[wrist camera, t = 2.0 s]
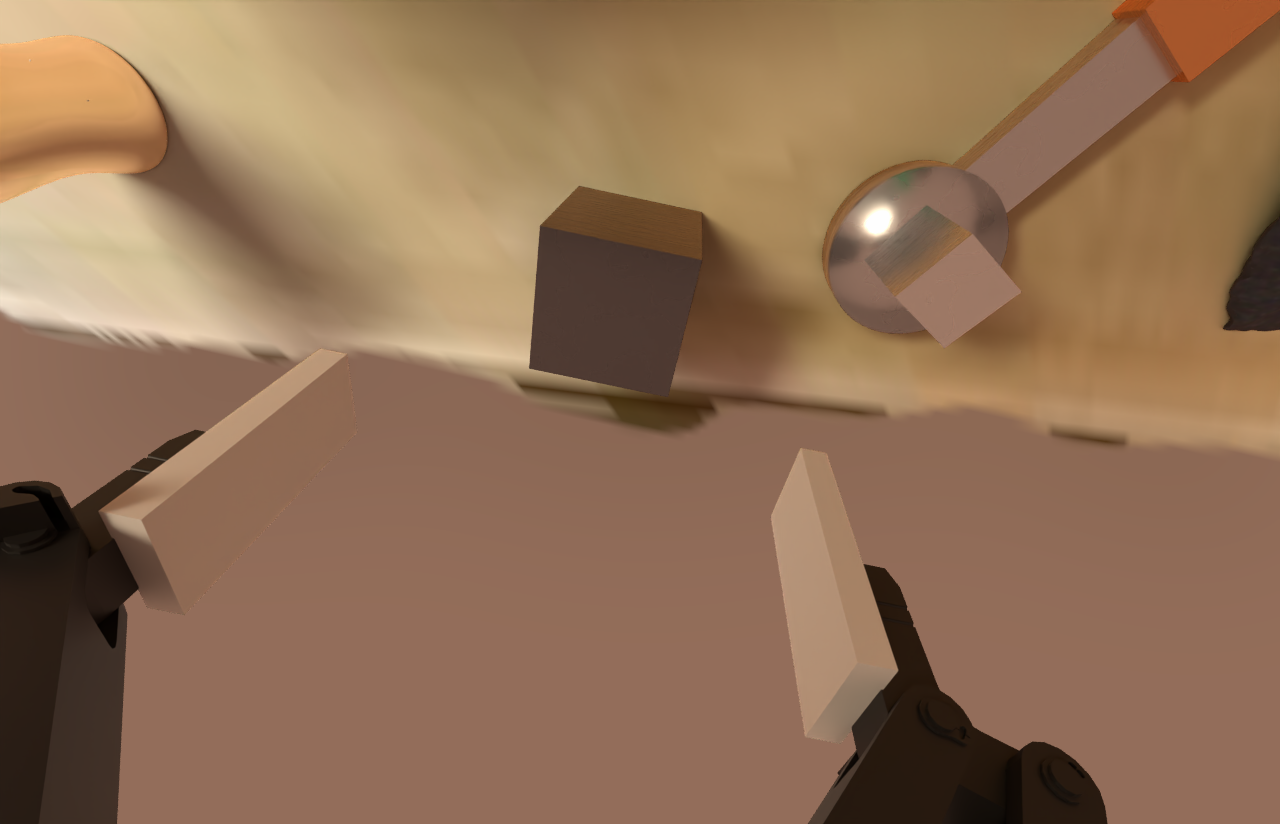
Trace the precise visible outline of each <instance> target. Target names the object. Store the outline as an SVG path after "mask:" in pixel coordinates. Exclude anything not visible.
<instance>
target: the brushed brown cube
mask: <svg viewBox="0 0 1280 824" xmlns="http://www.w3.org/2000/svg"><path fill="white" fill-rule="evenodd" d="M701 263H702V212H698V211H694V210H689V209H684V208H680V207H675V206H670V205H666V204H661V203H656V202H651V201H647V200H642V199H637V198H633V197H628V196H623V195H619V194H614V193H609V192H605V191H600V190H595V189H591V188H586V187H581V186H579V187H578V188H577V189H576V190H575V191H574V192H573V193H572V194H571V195H570V196H569V197H568V198H567V199H566V200H565V201H564V202H563V203H562V204H561V205H560V206H559V207H558V208H557V209H556V210H555V211H554V212H553V213H552V214H551V215H550V216H549V217H548V218H547V219H546V220H545V221H544V222H543V223H542V224H541V225H540V234H539V247H538V260H537V274H536V287H535V300H534V313H533V326H532V339H531V352H530V365H529V369H534V370H539V371H544V372H549V373H554V374H559V375H563V376H568V377H573V378H578V379H583V380H588V381H593V382H597V383H602V384H607V385H612V386H617V387H622V388H626V389H631V390H636V391H641V392H646V393H651V394H656V395H660V396H665V397H668V395H669V391H670V387H671V383H672V379H673V375H674V371H675V367H676V363H677V359H678V355H679V351H680V347H681V343H682V339H683V335H684V331H685V327H686V323H687V319H688V315H689V311H690V307H691V303H692V299H693V295H694V291H695V287H696V283H697V279H698V275H699V271H700V267H701Z"/></svg>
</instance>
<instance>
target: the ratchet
mask: <svg viewBox="0 0 1280 824" xmlns="http://www.w3.org/2000/svg"><path fill="white" fill-rule="evenodd" d="M1279 10H1280V0H1126V1H1125V2H1124V3H1123V4H1122V5H1120V6H1119V7H1118V8H1117V9H1116V10H1115V11H1114V12H1113V13H1112V15H1113V16H1114V18H1115V20H1114V21H1113V22H1112V23H1111V24H1110V25H1108V26H1107V27H1106V28H1105V29H1104V30H1103V31H1102V32H1101V33H1099V34H1098V35H1097V36H1096V37H1095V38H1094V39H1093V40H1092V41H1091V42H1089V43H1088V44H1087V45H1086V46H1085V47H1084V48H1083V49H1082V50H1080V51H1079V52H1078V53H1077V54H1076V55H1075V56H1074V57H1073V58H1072V59H1070V60H1069V61H1068V62H1067V63H1066V64H1065V65H1064V66H1063V67H1061V68H1060V69H1059V70H1058V71H1057V72H1056V73H1055V74H1054V75H1053V76H1051V77H1050V78H1049V79H1048V80H1047V81H1046V82H1045V83H1044V84H1042V85H1041V86H1040V87H1039V88H1038V89H1037V90H1036V91H1035V92H1034V93H1032V94H1031V95H1030V96H1029V97H1028V98H1027V99H1026V100H1025V101H1023V102H1022V103H1021V104H1020V105H1019V106H1018V107H1017V108H1016V109H1015V110H1013V111H1012V112H1011V113H1010V114H1009V115H1008V116H1007V117H1006V118H1004V119H1003V120H1002V121H1001V122H1000V123H999V124H998V125H997V126H996V127H994V128H993V129H992V130H991V131H990V132H989V133H988V134H987V135H985V136H984V137H983V138H982V139H981V140H980V141H979V142H978V143H977V144H975V145H974V146H973V147H972V148H971V149H970V150H969V151H968V152H966V153H965V154H964V155H963V156H962V157H961V158H960V159H959V160H958V161H956V162H955V163H954V164H953V165H950V164H946V163H943V162H938V161H931V160H918V161H911V162H905V163H901V164H897V165H894V166H892V167H889V168H887V169H884V170H882V171H880V172H878V173H877V174H875V175H873V176H871V177H870V178H868V179H867V180H866V181H864V182H863V183H861V184H860V185H859V186H858V187H857V188H856V189H854V190H853V191H852V192H851V193H850V195H849V196H848V197H847V198H846V199H845V200H844V201H843V203H842V204H841V205H840V207H839V208H838V209H837V211H836V213H835V215H834V216H833V218H832V220H831V222H830V224H829V227H828V229H827V232H826V235H825V239H824V244H823V250H822V263H823V270H824V274H825V278H826V280H827V283H828V285H829V287H830V289H831V291H832V292H833V294H834V296H835V298H836V299H837V301H838V303H839V304H840V306H841V307H842V309H843V310H844V311H845V312H846V313H847V314H848V315H849V316H850V317H851V318H852V319H854V320H855V321H856V322H858V323H860V324H861V325H863V326H865V327H868V328H870V329H873V330H876V331H880V332H886V333H912V332H917V331H922V330H927V331H928V332H929V333H930V334H931V335H932V336H933V337H934V338H935V339H936V340H937V341H938V342H939V343H940V344H941V345H942V346H943V347H944V348H945V347H947V346H948V345H950V344H951V343H952V342H954V341H955V340H956V339H958V338H959V337H961V336H962V335H963V334H965V333H966V332H967V331H969V330H970V329H972V328H973V327H974V326H976V325H977V324H978V323H980V322H981V321H983V320H984V319H985V318H987V317H988V316H989V315H991V314H992V313H994V312H995V311H996V310H998V309H999V308H1000V307H1002V306H1003V305H1005V304H1006V303H1007V302H1009V301H1010V300H1011V299H1013V298H1014V297H1016V296H1017V295H1018V294H1020V293H1021V292H1022V291H1021V290H1020V289H1019V288H1018V287H1017V286H1016V284H1015V283H1014V282H1013V281H1012V280H1011V279H1010V277H1009V276H1008V275H1007V274H1006V273H1005V271H1004V270H1003V269H1002V268H1001V267H1000V266H1001V264H1002V261H1003V258H1004V256H1005V253H1006V248H1007V243H1008V233H1009V228H1008V218H1007V214H1006V213H1008V212H1009V211H1010V210H1011V209H1013V208H1014V207H1015V206H1016V205H1018V204H1019V203H1020V202H1021V201H1022V200H1024V199H1025V198H1026V197H1027V196H1029V195H1030V194H1031V193H1032V192H1034V191H1035V190H1036V189H1037V188H1039V187H1040V186H1041V185H1042V184H1044V183H1045V182H1046V181H1047V180H1048V179H1050V178H1051V177H1052V176H1053V175H1055V174H1056V173H1057V172H1058V171H1060V170H1061V169H1062V168H1063V167H1065V166H1066V165H1067V164H1068V163H1070V162H1071V161H1072V160H1073V159H1074V158H1076V157H1077V156H1078V155H1079V154H1081V153H1082V152H1083V151H1084V150H1086V149H1087V148H1088V147H1089V146H1091V145H1092V144H1093V143H1094V142H1096V141H1097V140H1098V139H1099V138H1100V137H1102V136H1103V135H1104V134H1105V133H1107V132H1108V131H1109V130H1110V129H1112V128H1113V127H1114V126H1115V125H1117V124H1118V123H1119V122H1120V121H1121V120H1123V119H1124V118H1125V117H1126V116H1128V115H1129V114H1130V113H1131V112H1133V111H1134V110H1135V109H1136V108H1138V107H1139V106H1140V105H1141V104H1143V103H1144V102H1145V101H1146V100H1147V99H1149V98H1150V97H1151V96H1152V95H1154V94H1155V93H1156V92H1157V91H1159V90H1160V89H1161V88H1162V87H1164V86H1165V85H1166V84H1167V83H1169V82H1170V81H1173V82H1190V81H1191V80H1193V79H1194V78H1195V77H1196V76H1198V75H1199V74H1200V73H1201V72H1203V71H1204V70H1205V69H1206V68H1208V67H1209V66H1210V65H1211V64H1213V63H1214V62H1215V61H1217V60H1218V59H1219V58H1220V57H1222V56H1223V55H1224V54H1225V53H1227V52H1228V51H1229V50H1230V49H1232V48H1233V47H1234V46H1235V45H1237V44H1238V43H1239V42H1240V41H1242V40H1243V39H1244V38H1245V37H1247V36H1248V35H1249V34H1250V33H1252V32H1253V31H1254V30H1256V29H1257V28H1258V27H1259V26H1261V25H1262V24H1263V23H1264V22H1266V21H1267V20H1268V19H1269V18H1271V17H1272V16H1273V15H1274V14H1276V13H1277V12H1278V11H1279Z"/></svg>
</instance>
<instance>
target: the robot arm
mask: <svg viewBox="0 0 1280 824" xmlns="http://www.w3.org/2000/svg"><path fill="white" fill-rule="evenodd" d="M356 433H357V426H356V418H355V410H354V403H353V395H352V388H351V380H350V373H349V365H348V357H347V354H345V353H340V352H335V351H330V350H325V349H321V348H320V349H319V350H317V351H316V352H315V353H313V354H312V355H310V356H309V357H308V358H306V359H305V360H304V361H302V362H301V363H300V364H298V365H297V366H295V367H294V368H293V369H291V370H290V371H289V372H287V373H286V374H285V375H283V376H282V377H280V378H279V379H278V380H276V381H275V382H274V383H272V384H271V385H270V386H268V387H267V388H265V389H264V390H263V391H261V392H260V393H259V394H257V395H256V396H255V397H253V398H252V399H250V400H249V401H248V402H246V403H245V404H244V405H242V406H241V407H240V408H238V409H237V410H235V411H234V412H233V413H231V414H230V415H229V416H227V417H226V418H224V419H223V420H222V421H220V422H219V423H218V424H216V425H215V426H214V427H212V428H211V429H210V430H208V431H207V432H204V431H199V430H194V431H191V432H189V433H186V434H184V435H182V436H179V437H177V438H174V439H172V440H169V441H168V442H166V443H165V444H163V445H162V446H161V447H159V448H158V449H156V450H155V451H153V452H152V453H151V454H149V455H148V458H147V459H146V458H143V459H142V460H140V461H139V462H137V463H136V464H135V465H133V466H132V467H131V470H126V471H125V472H123V473H122V474H120V475H119V476H117V477H116V478H115V479H113V480H112V481H111V482H109V483H107V484H106V485H105V486H103V487H102V488H100V489H99V490H97V491H96V492H95V493H93V494H92V495H90V496H89V497H87V498H86V499H85V500H83V501H82V502H80V503H79V504H77V505H76V506H75V507H73V508H72V509H71V507H70V505H69V503H68V502H67V500H66V498H65V496H64V494H63V492H62V491H61V489H60V487H57V486H56V485H54V484H52V483H49V482H41V481H27V482H17V483H12V484H8V485H5V486H0V824H117V811H118V809H117V808H118V792H119V771H120V752H121V732H122V712H123V692H124V672H125V670H124V669H125V651H126V650H125V649H126V630H127V612H126V609H125V606H124V604H123V603H124V602H125V601H126V600H127V599H128V598H129V597H130V596H131V595H132V594H133V593H134V592H136V591H137V590H139V592H140V594H141V596H142V598H143V600H144V602H145V604H146V606H147V607H148V608H152V609H157V610H162V611H167V612H172V613H177V614H182V615H185V614H186V613H187V612H188V611H189V610H190V608H192V607H193V605H194V604H195V603H196V602H197V601H198V600H199V599H200V598H201V597H202V596H203V595H204V594H205V593H206V592H207V591H208V590H209V589H210V588H211V586H212V585H213V584H214V583H215V582H216V581H217V580H218V579H219V578H220V577H221V576H222V575H223V573H225V572H226V570H228V568H229V567H230V566H231V565H232V564H233V563H234V562H235V561H236V560H237V559H238V558H239V557H240V556H241V555H242V554H243V553H244V551H246V549H247V548H248V547H249V546H250V545H251V544H252V543H253V542H254V541H255V540H256V539H257V538H258V537H259V536H260V535H261V533H263V531H264V530H265V529H266V528H267V527H268V526H269V525H270V524H271V523H272V522H273V521H274V520H275V519H276V518H277V517H278V515H280V514H281V512H282V511H283V510H284V509H285V508H286V507H287V506H288V505H289V504H290V503H291V502H292V501H293V500H294V499H295V498H296V497H297V495H298V494H299V493H300V492H301V491H302V490H303V489H304V488H305V487H306V486H307V485H308V484H309V483H310V482H311V481H312V480H313V479H314V478H315V477H316V475H317V474H318V473H319V472H320V471H321V470H322V469H323V468H324V467H325V466H326V465H327V464H328V463H329V462H330V461H331V460H332V458H333V457H334V456H335V455H336V454H337V453H338V452H339V451H340V450H341V449H342V448H343V447H344V446H345V445H346V444H347V443H348V442H349V441H350V439H351V438H352V437H353V436H354V435H355V434H356ZM771 522H772V528H773V535H774V541H775V547H776V554H777V560H778V566H779V573H780V579H781V585H782V592H783V598H784V605H785V611H786V617H787V624H788V630H789V637H790V643H791V649H792V655H793V661H794V668H795V675H796V680H797V687H798V694H799V700H800V707H801V713H802V719H803V725H804V732H805V737H809V738H813V739H819V740H824V741H829V742H834V743H839V744H841V743H842V741H843V740H844V739H845V738H846V736H847V735H848V734H849V733H850V731H851V730H852V732H853V736H854V741H855V745H856V749H857V750H856V751H855V753H854V754H853V755H852V756H851V757H850V759H849V760H848V761H847V762H846V763H845V765H844V766H843V767H842V768H841V770H840V771H839V772H838V774H839V776H838V778H837V780H836V781H835V783H834V784H833V786H832V787H831V789H830V790H829V792H828V793H827V795H826V797H825V798H824V800H823V801H822V803H821V804H820V806H819V807H818V809H817V810H816V812H815V814H814V815H813V817H812V818H811V820H810V821H809V823H808V824H1107V817H1106V810H1105V805H1104V803H1103V799H1102V796H1101V793H1100V791H1099V789H1098V788H1097V786H1096V785H1095V783H1094V781H1093V780H1092V778H1091V777H1090V775H1089V774H1088V773H1087V772H1086V771H1085V770H1084V769H1083V768H1082V767H1081V766H1080V765H1079V764H1078V763H1077V762H1076V760H1074V759H1073V758H1071V757H1070V756H1069V755H1067V754H1066V753H1065V752H1063V751H1062V750H1060V749H1059V748H1057V747H1054V746H1052V745H1050V744H1047V743H1045V742H1031V743H1029V744H1028V745H1026V746H1024V747H1023V748H1022V749H1021V750H1020V751H1019V750H1017V749H1014V748H1013V747H1011V746H1008V745H1007V744H1005V743H1003V742H1001V741H999V740H997V739H994V738H993V737H991V736H989V735H987V734H985V733H983V732H981V731H979V730H978V729H976V728H974V727H973V726H972V723H971V722H970V720H969V718H968V717H967V715H966V714H965V712H964V711H963V709H962V708H961V707H960V706H959V705H958V704H957V703H956V702H955V701H954V700H953V699H952V698H951V697H949V696H948V695H946V694H945V693H943V692H941V691H940V690H939V688H938V685H937V683H936V680H935V678H934V675H933V673H932V670H931V667H930V665H929V662H928V659H927V657H926V654H925V652H924V649H923V647H922V644H921V641H920V639H919V636H918V633H917V631H916V628H915V627H913V621H912V618H911V615H910V613H909V611H907V605H906V602H905V600H904V597H903V594H902V592H901V589H900V587H899V586H898V584H897V583H896V582H895V581H894V579H893V578H892V577H891V576H890V574H889V573H888V572H887V570H886V569H885V568H880V567H875V566H870V565H865V564H863V562H862V559H861V556H860V553H859V550H858V547H857V544H856V540H855V538H854V534H853V531H852V529H851V525H850V522H849V519H848V516H847V513H846V510H845V507H844V504H843V501H842V498H841V495H840V492H839V489H838V486H837V483H836V480H835V477H834V474H833V471H832V468H831V465H830V461H829V458H828V455H827V453H824V452H819V451H814V450H809V449H804V448H800V451H799V453H798V455H797V457H796V460H795V462H794V464H793V467H792V469H791V471H790V474H789V476H788V478H787V480H786V483H785V485H784V487H783V489H782V492H781V494H780V496H779V499H778V501H777V503H776V505H775V508H774V510H773V513H772V515H771Z"/></svg>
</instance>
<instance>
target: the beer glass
mask: <svg viewBox="0 0 1280 824" xmlns="http://www.w3.org/2000/svg"><path fill="white" fill-rule="evenodd" d="M166 148H167V128H166V123H165V120H164V116H163V113H162V111H161V108H160V106H159V104H158V102H157V100H156V98H155V96H154V94H153V93H152V91H151V90H150V88H149V87H148V85H147V84H146V82H145V81H144V80H143V79H142V77H141V76H140V75H139V74H138V73H137V72H136V70H135V69H134V68H133V67H132V66H131V65H130V64H129V63H127V62H126V61H125V60H124V59H123V58H122V57H120V56H119V55H118V54H117V53H115V52H114V51H112V50H111V49H109V48H108V47H106V46H104V45H102V44H100V43H98V42H96V41H93V40H90V39H87V38H83V37H79V36H73V35H61V36H53V37H48V38H42V39H38V40H33V41H28V42H21V43H12V44H0V203H3V202H5V201H8V200H10V199H13V198H15V197H18V196H20V195H22V194H25V193H27V192H29V191H32V190H34V189H36V188H39V187H41V186H43V185H46V184H49V183H51V182H54V181H57V180H59V179H62V178H66V177H70V176H74V175H80V174H87V173H124V174H126V173H140V172H145V171H148V170H150V169H152V168H154V167H155V166H157V165H158V164H159V163H160V162H161V160H162V159H163V157H164V155H165V152H166Z"/></svg>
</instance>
